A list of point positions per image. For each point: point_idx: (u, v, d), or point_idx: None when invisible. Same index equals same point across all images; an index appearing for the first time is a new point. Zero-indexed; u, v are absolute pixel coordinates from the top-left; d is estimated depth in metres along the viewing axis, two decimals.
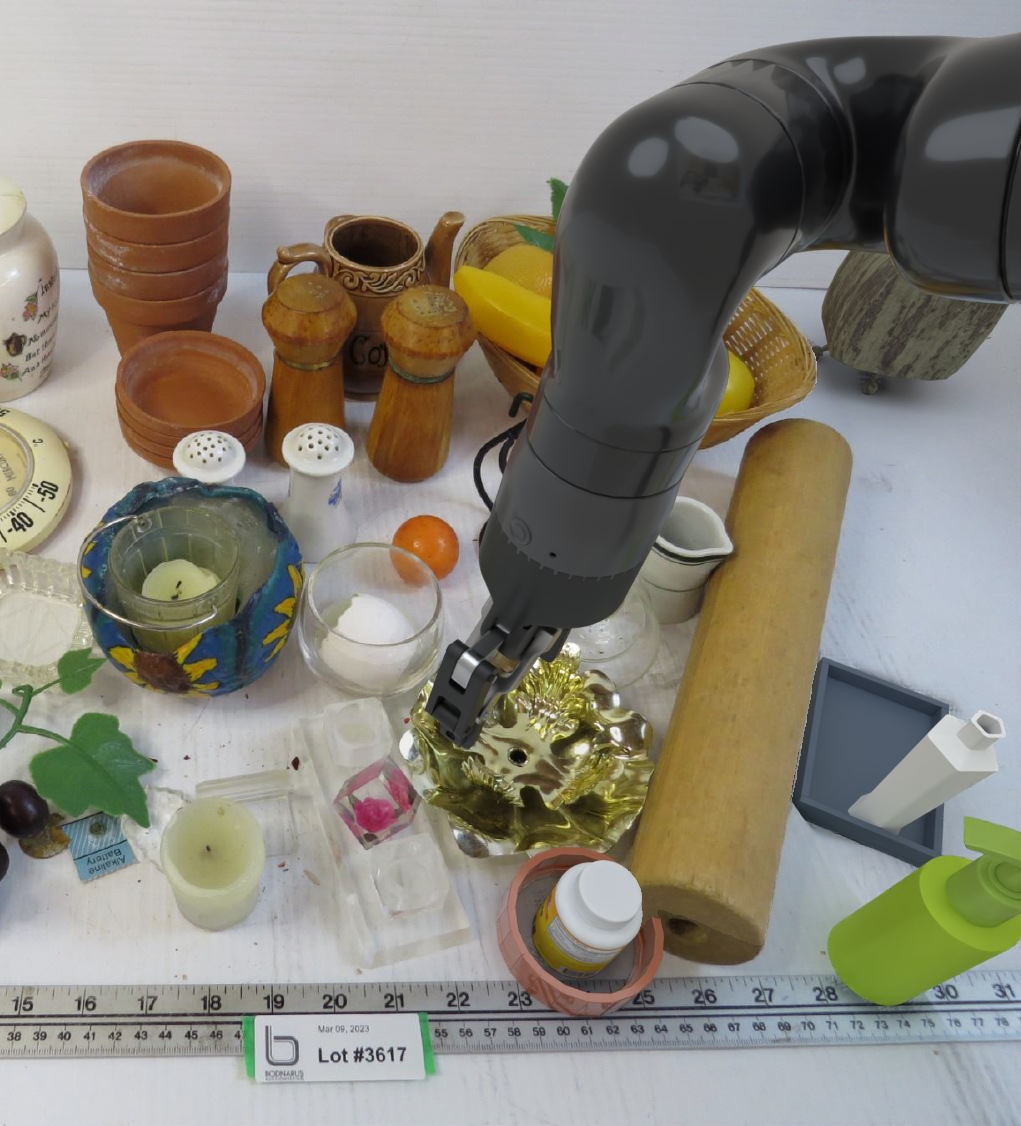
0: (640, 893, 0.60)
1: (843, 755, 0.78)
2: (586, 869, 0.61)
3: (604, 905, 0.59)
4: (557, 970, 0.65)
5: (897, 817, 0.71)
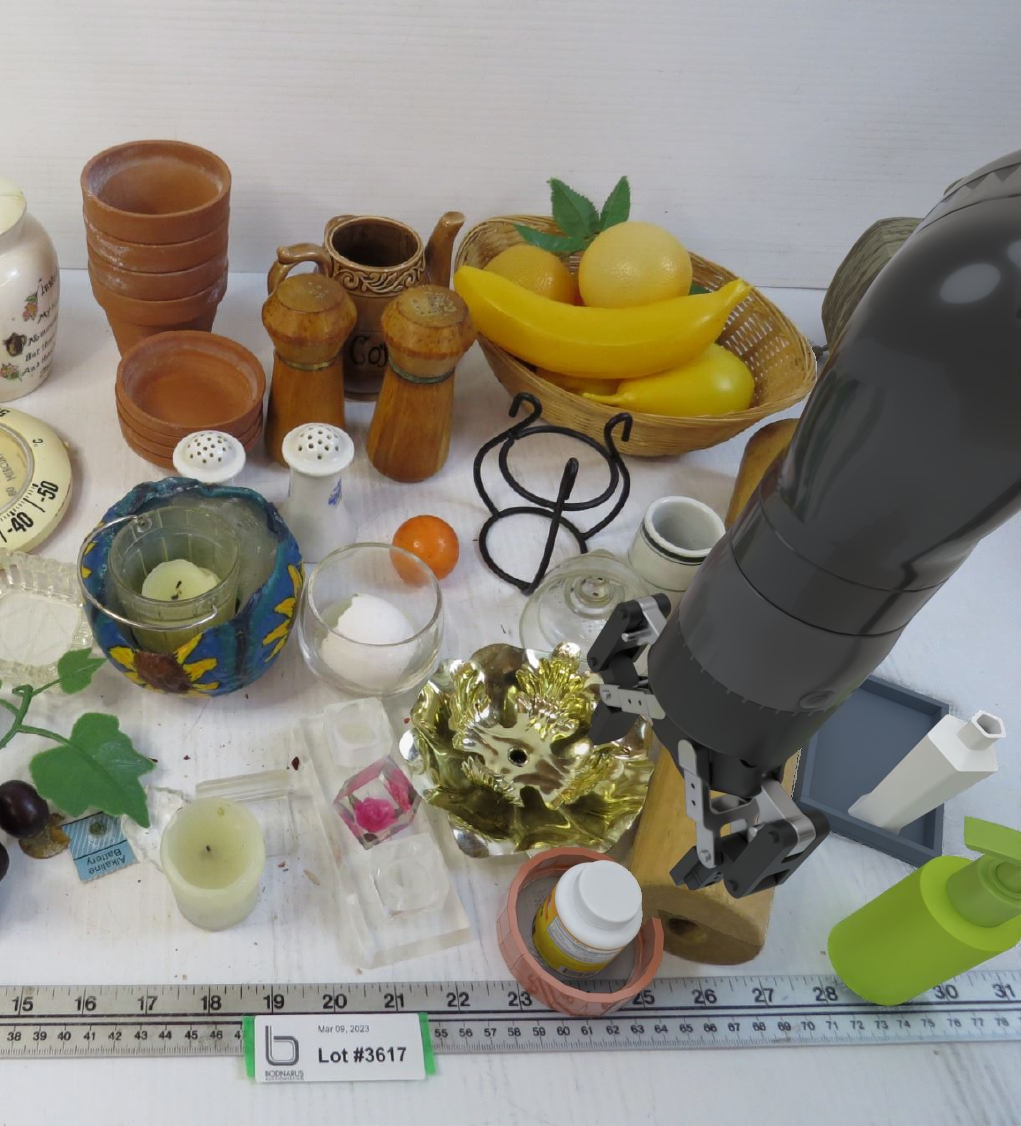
0: (640, 893, 0.60)
1: (843, 755, 0.78)
2: (586, 869, 0.61)
3: (604, 905, 0.59)
4: (557, 970, 0.65)
5: (897, 817, 0.71)
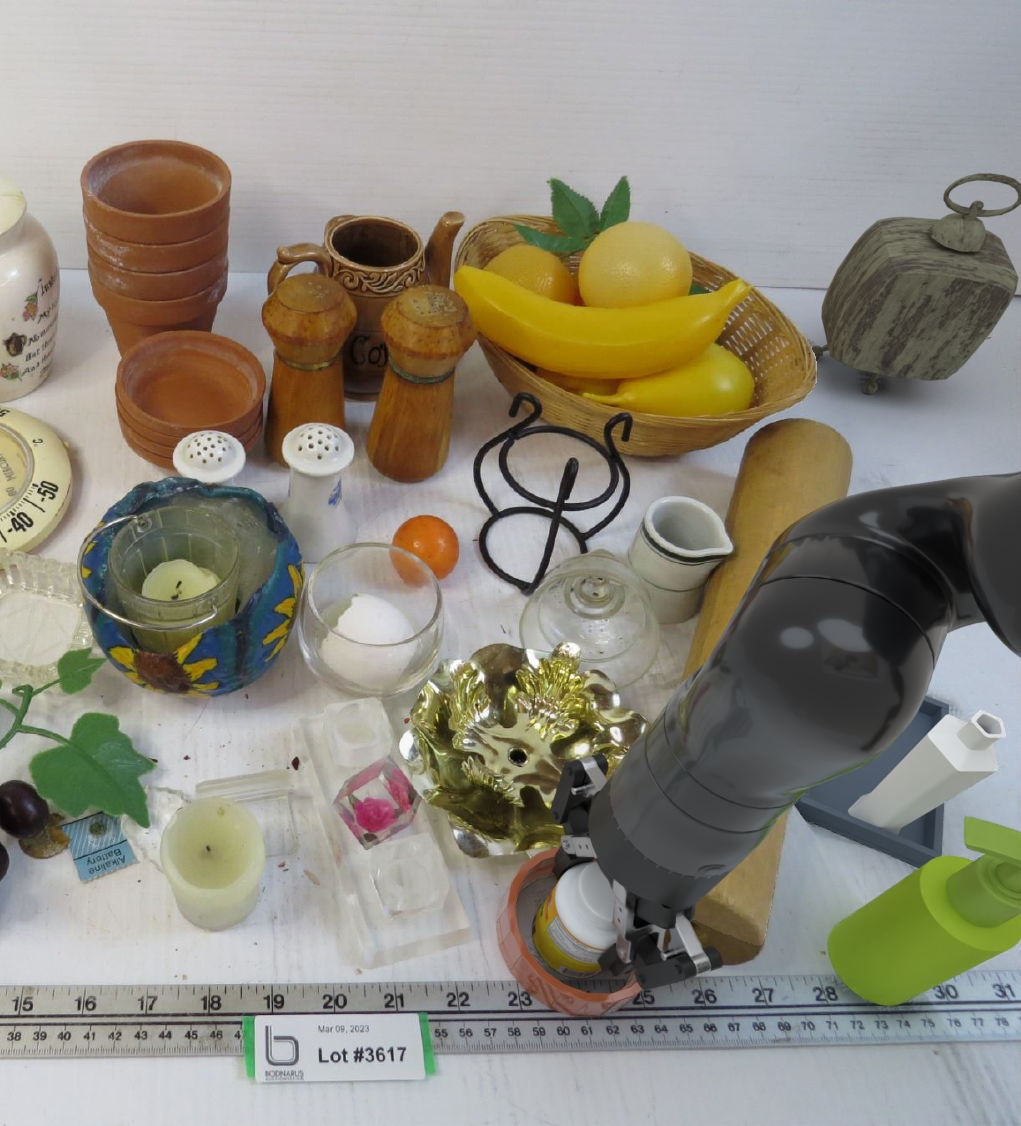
0: None
1: None
2: (586, 869, 0.61)
3: (604, 905, 0.59)
4: (557, 970, 0.65)
5: (897, 817, 0.71)
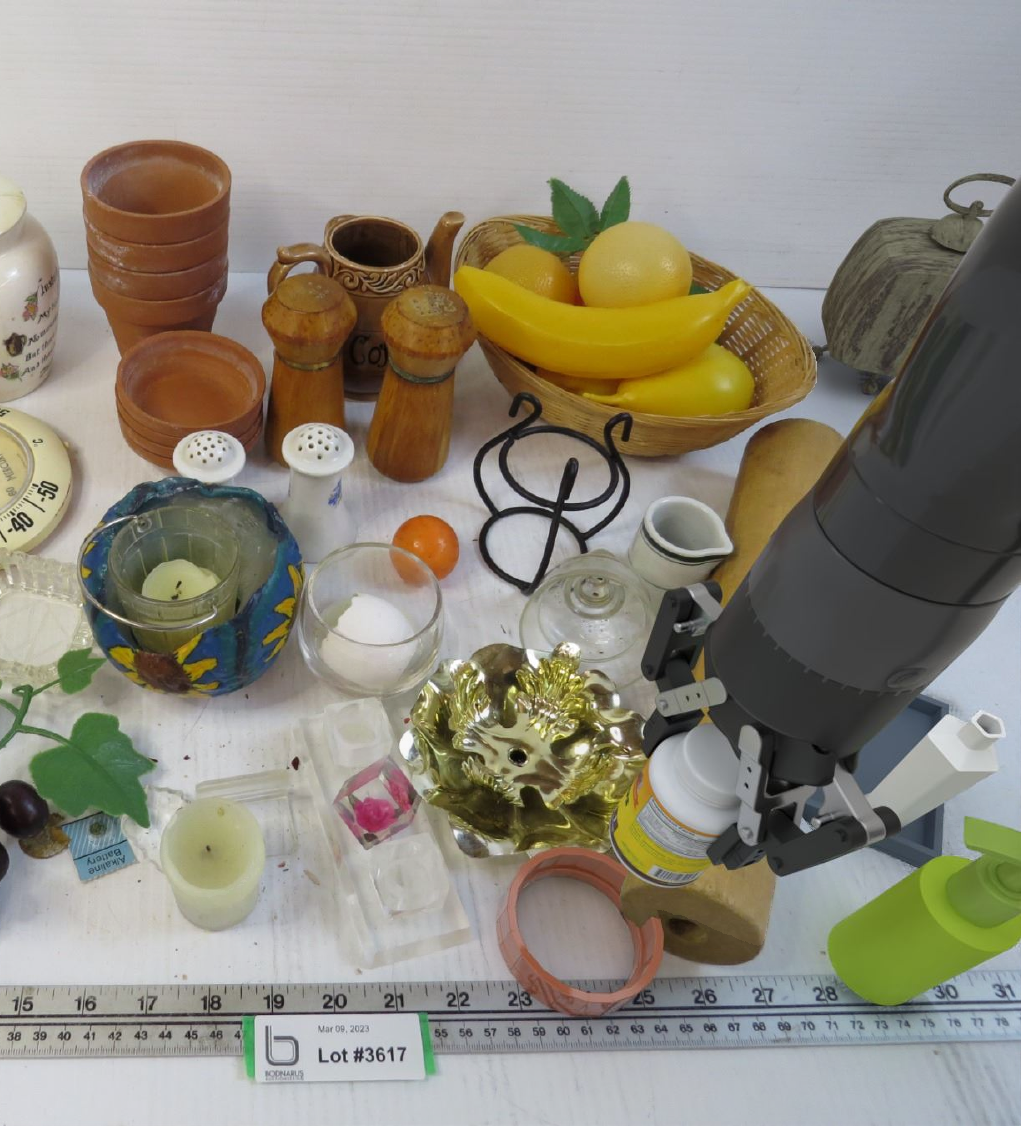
0: None
1: None
2: (692, 733, 0.47)
3: (719, 775, 0.46)
4: (647, 873, 0.52)
5: None
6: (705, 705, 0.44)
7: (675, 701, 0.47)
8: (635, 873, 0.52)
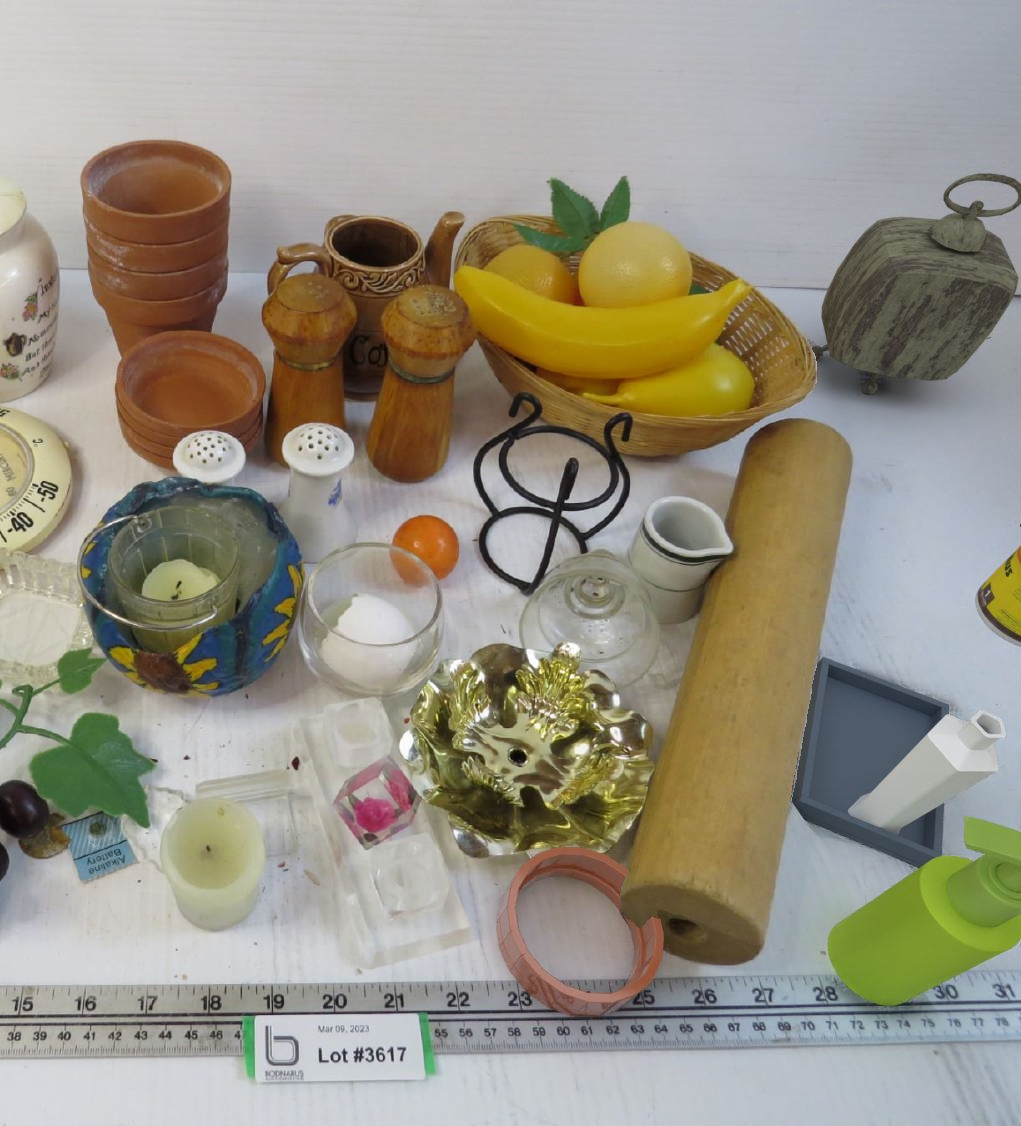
0: None
1: (843, 755, 0.78)
2: None
3: None
4: None
5: (897, 817, 0.71)
6: None
7: None
8: (1010, 638, 0.60)
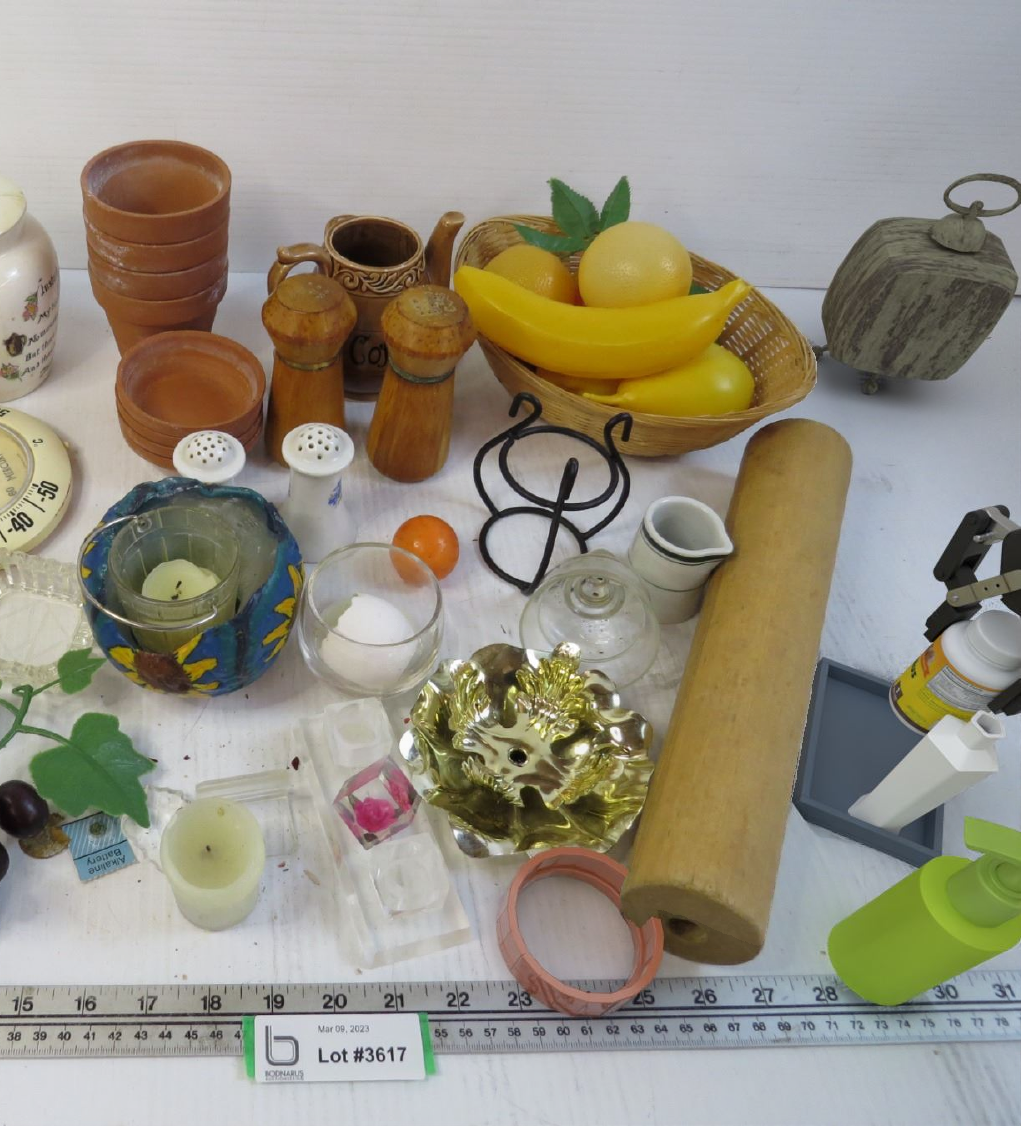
0: None
1: (843, 755, 0.78)
2: (981, 616, 0.65)
3: (1007, 644, 0.63)
4: (928, 728, 0.69)
5: (897, 817, 0.71)
6: (1004, 592, 0.62)
7: (968, 594, 0.65)
8: (916, 729, 0.70)
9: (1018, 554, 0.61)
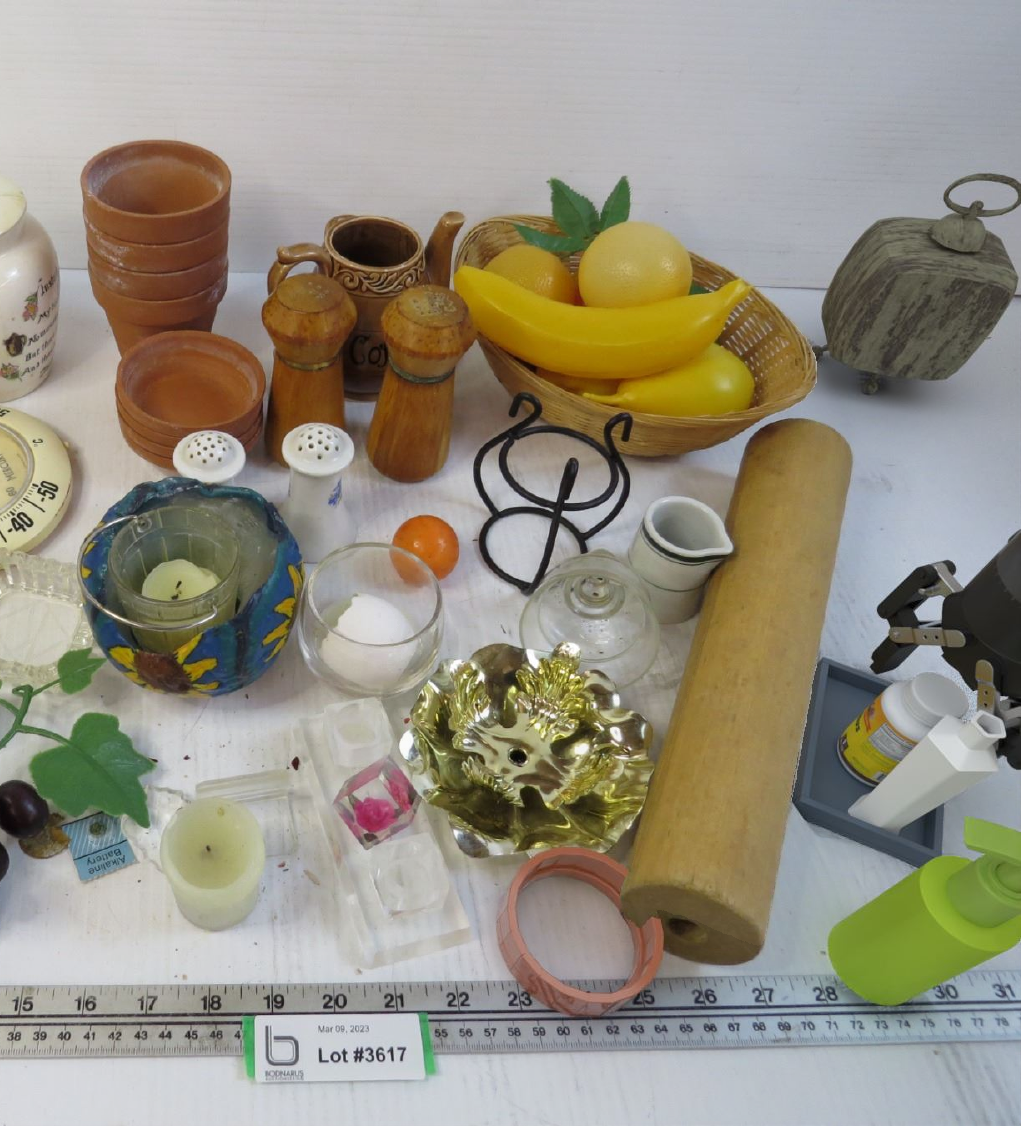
0: (966, 697, 0.70)
1: None
2: (916, 679, 0.71)
3: (938, 706, 0.70)
4: (871, 778, 0.75)
5: (897, 817, 0.71)
6: (941, 644, 0.67)
7: (908, 635, 0.70)
8: (860, 778, 0.76)
9: (956, 616, 0.66)
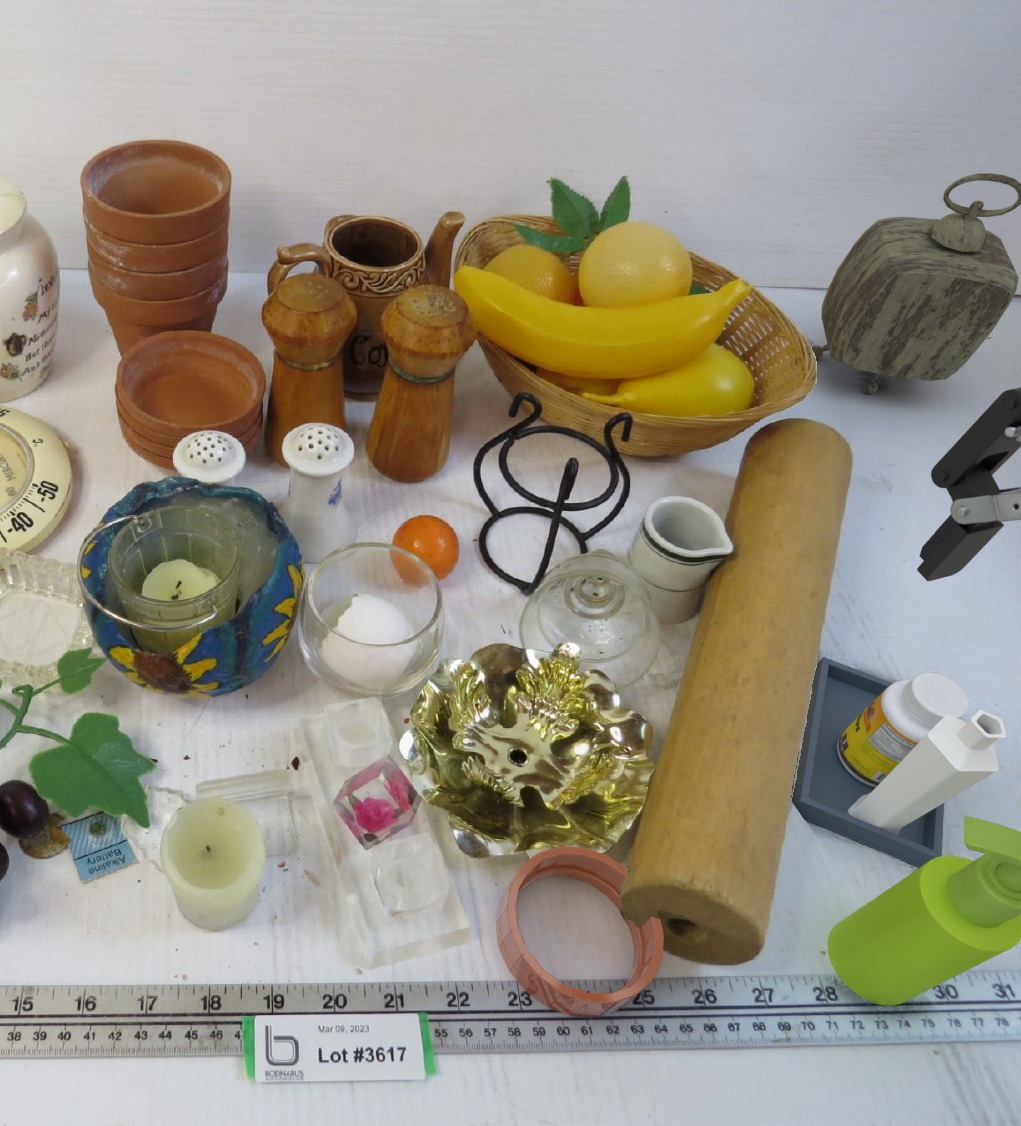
0: (966, 697, 0.70)
1: None
2: (916, 679, 0.71)
3: (938, 706, 0.70)
4: (871, 778, 0.75)
5: (897, 817, 0.71)
6: None
7: (985, 508, 0.44)
8: (860, 778, 0.76)
9: None
